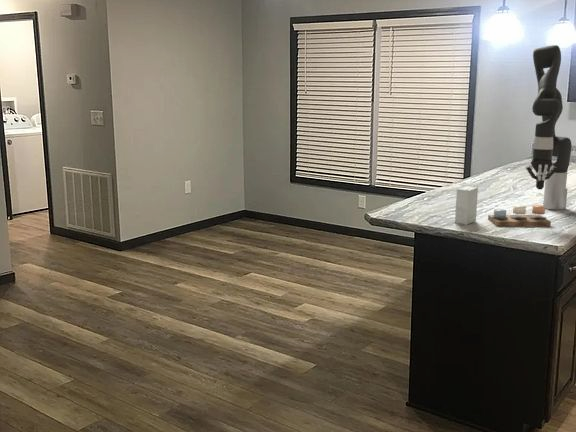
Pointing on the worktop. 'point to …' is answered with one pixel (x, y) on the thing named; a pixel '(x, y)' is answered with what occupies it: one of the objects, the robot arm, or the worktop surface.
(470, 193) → the skincare box
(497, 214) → the button slate
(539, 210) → the button terracotta
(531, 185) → the worktop surface
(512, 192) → the worktop surface
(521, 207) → the button cream
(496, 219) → the board
